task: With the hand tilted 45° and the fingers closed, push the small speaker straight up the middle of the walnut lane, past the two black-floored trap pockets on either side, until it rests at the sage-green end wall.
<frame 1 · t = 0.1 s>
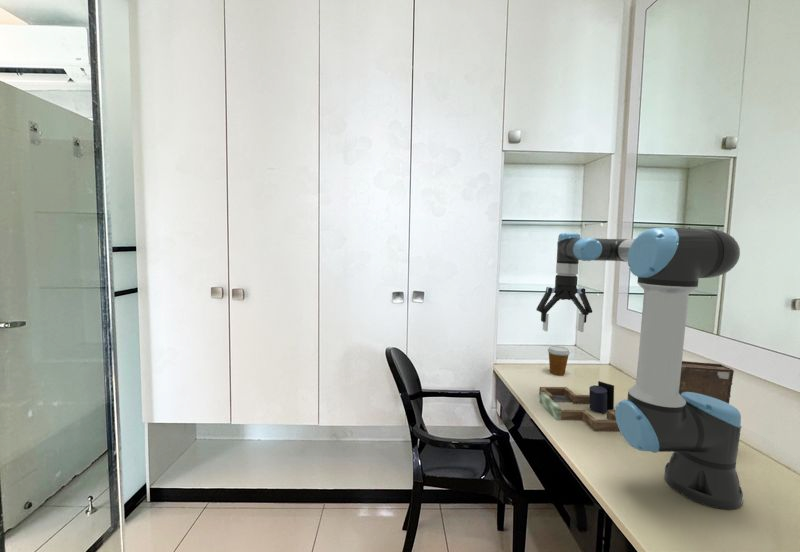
hand: (562, 330, 138), 28 cm above the table, tool pointing down, fingers open, 13 cm apart
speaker: (599, 411, 134), on the table
disposable coffee cup: (557, 373, 171), on the table
book: (692, 443, 113), on the table
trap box: (578, 410, 133), on the table
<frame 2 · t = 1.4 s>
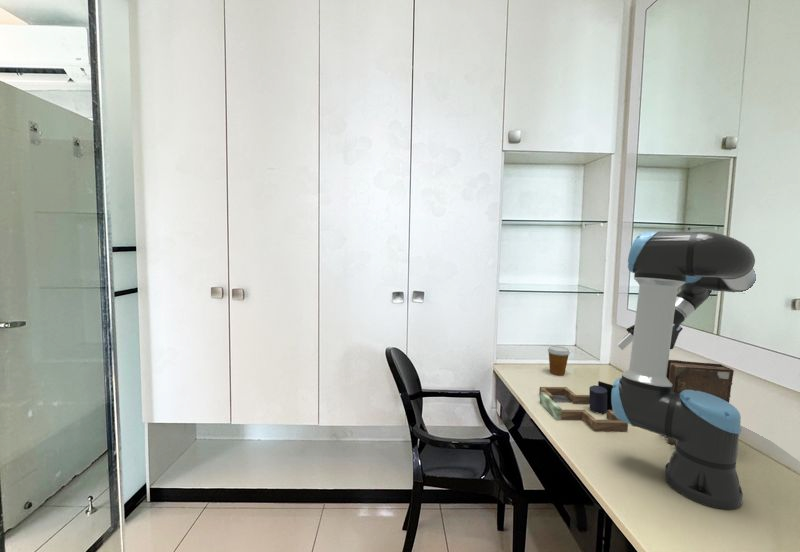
hand: (632, 353, 132), 22 cm above the table, tool tilted 45°, fingers open, 13 cm apart
nothing on the table moved.
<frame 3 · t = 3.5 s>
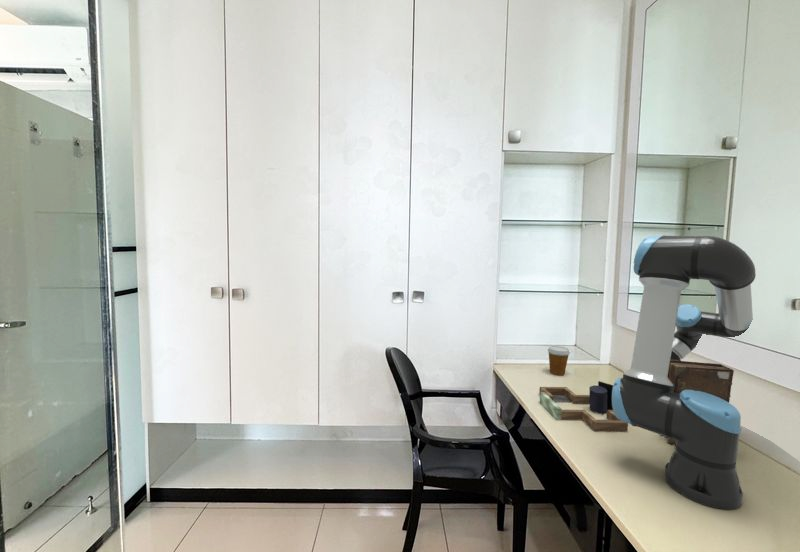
hand: (623, 396, 134), 5 cm above the table, tool tilted 45°, fingers closed
nothing on the table moved.
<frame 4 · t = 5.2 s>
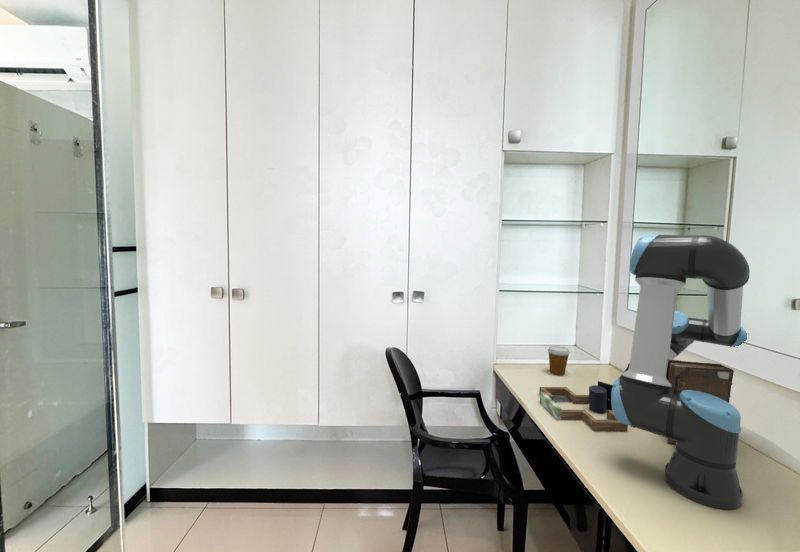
hand: (609, 401, 134), 3 cm above the table, tool tilted 45°, fingers closed
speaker: (599, 411, 134), on the table, touching gripper
everything else where it was.
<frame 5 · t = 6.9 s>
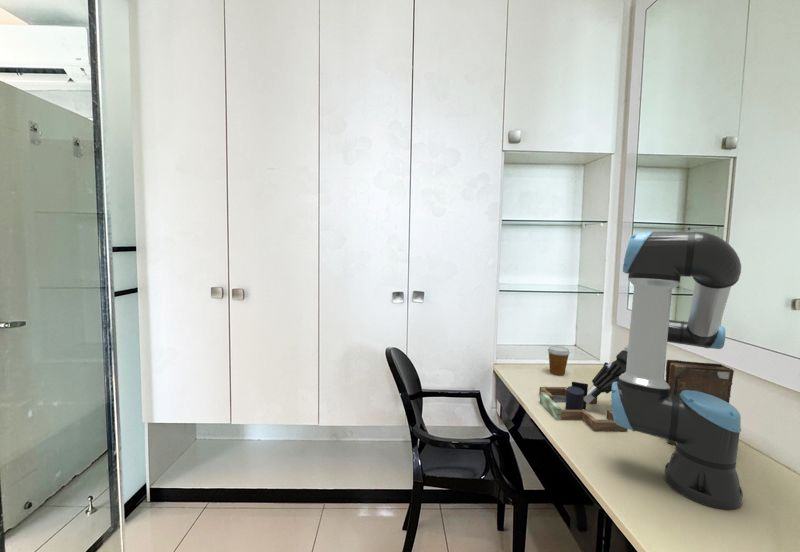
hand: (584, 400, 134), 4 cm above the table, tool tilted 45°, fingers closed
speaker: (576, 411, 133), on the table, touching gripper
everything else where it was.
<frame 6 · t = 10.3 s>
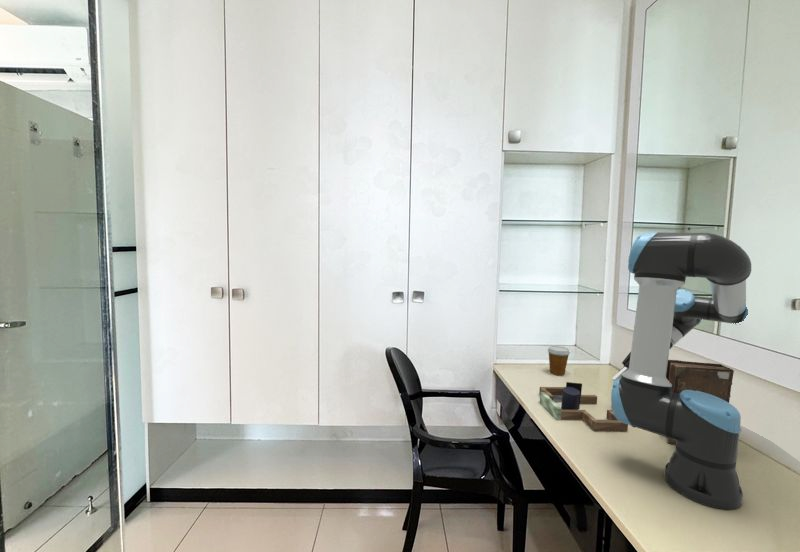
hand: (615, 381, 133), 11 cm above the table, tool tilted 45°, fingers closed
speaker: (571, 412, 132), on the table
everything else where it was.
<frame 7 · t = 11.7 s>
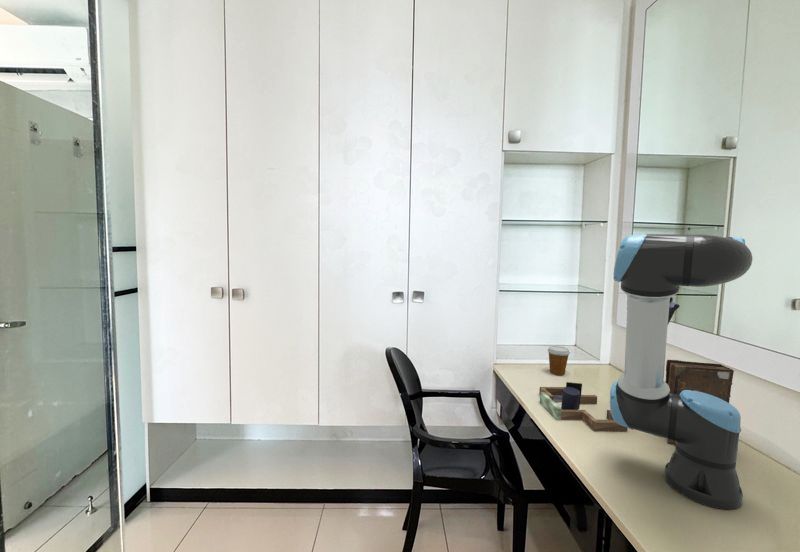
hand: (647, 348, 125), 26 cm above the table, tool pointing down, fingers closed
nothing on the table moved.
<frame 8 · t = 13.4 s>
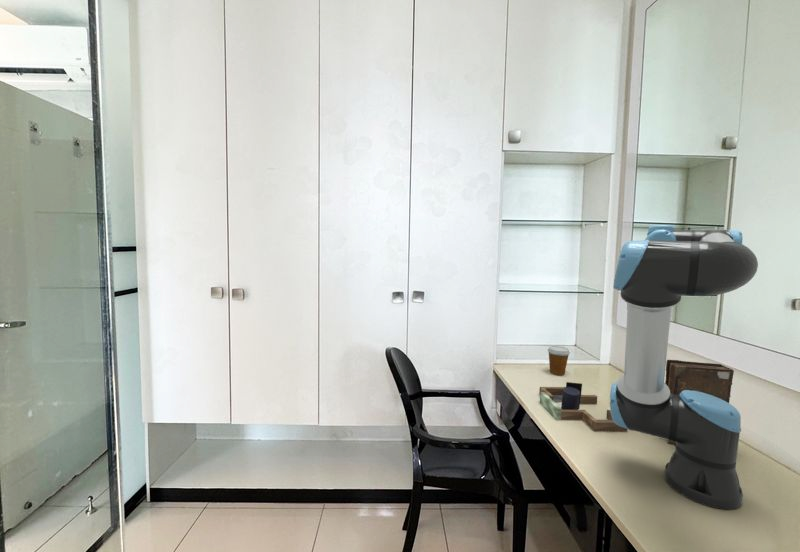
hand: (651, 341, 123), 28 cm above the table, tool pointing down, fingers closed
nothing on the table moved.
at the end: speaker inside the target area (1.9 cm from its centre), on the table; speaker tilted 0°; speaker moved 11.1 cm from its start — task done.
